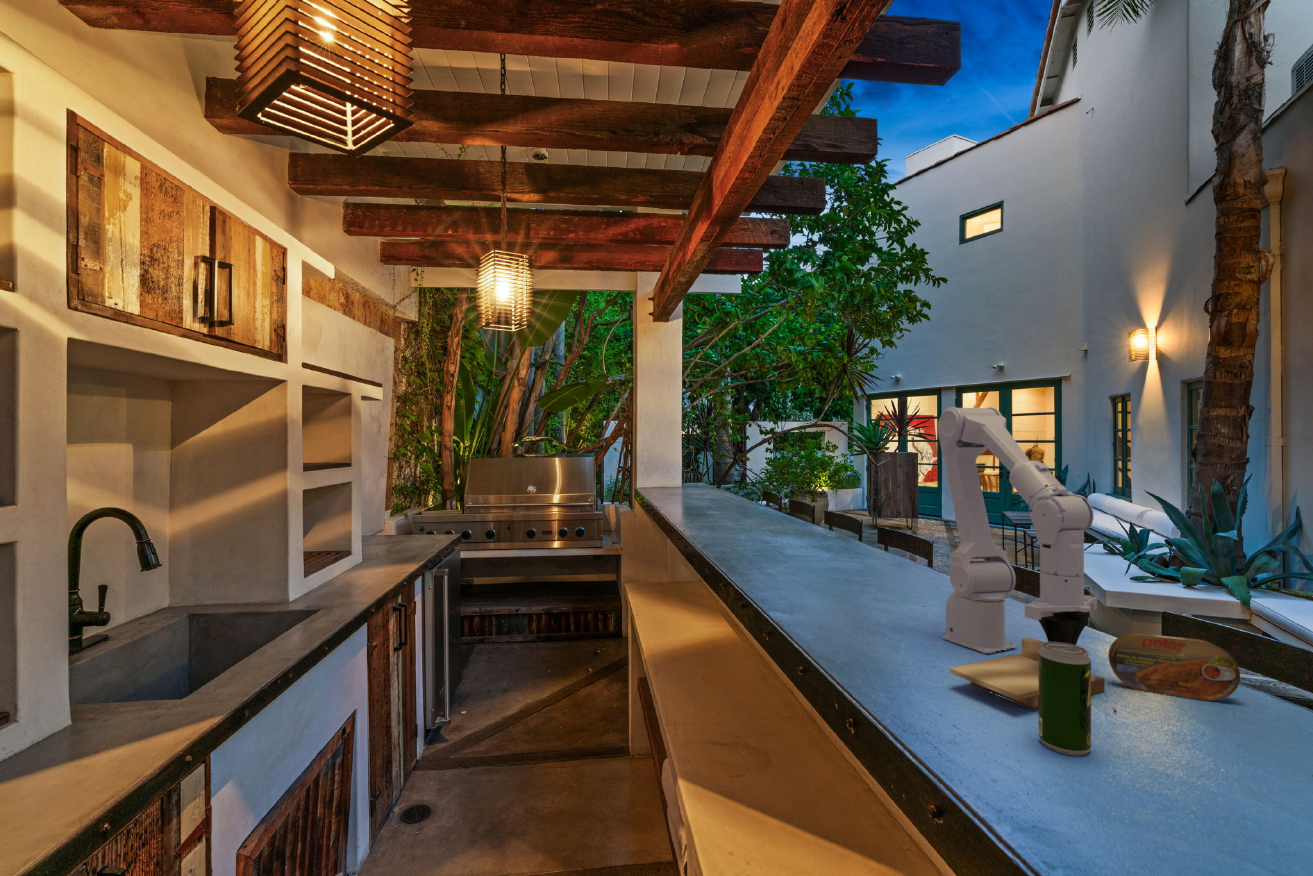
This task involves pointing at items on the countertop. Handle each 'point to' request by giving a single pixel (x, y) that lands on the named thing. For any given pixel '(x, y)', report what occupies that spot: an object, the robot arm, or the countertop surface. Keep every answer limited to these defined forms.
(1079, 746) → the beer can
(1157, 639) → the tin
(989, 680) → the cover plate
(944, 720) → the countertop surface
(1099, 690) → the box
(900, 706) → the countertop surface
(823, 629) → the countertop surface
